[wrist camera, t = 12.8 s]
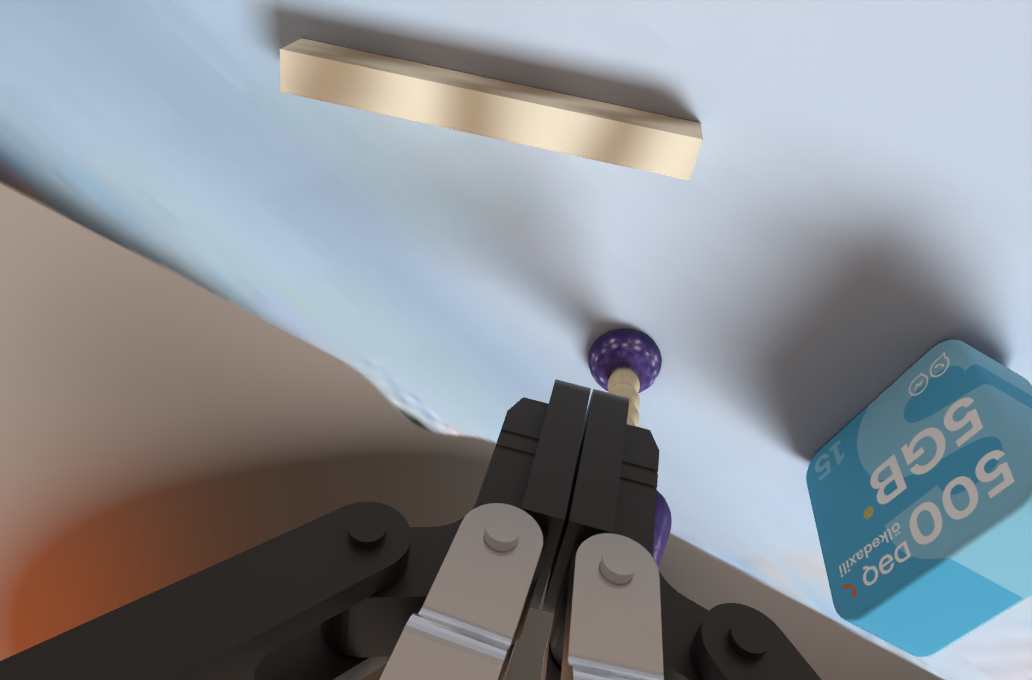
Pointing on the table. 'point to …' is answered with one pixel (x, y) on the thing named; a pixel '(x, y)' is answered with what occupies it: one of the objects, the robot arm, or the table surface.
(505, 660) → the robot arm
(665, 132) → the parallel wooden bars
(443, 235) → the table surface
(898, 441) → the data package
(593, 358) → the toy lamp
